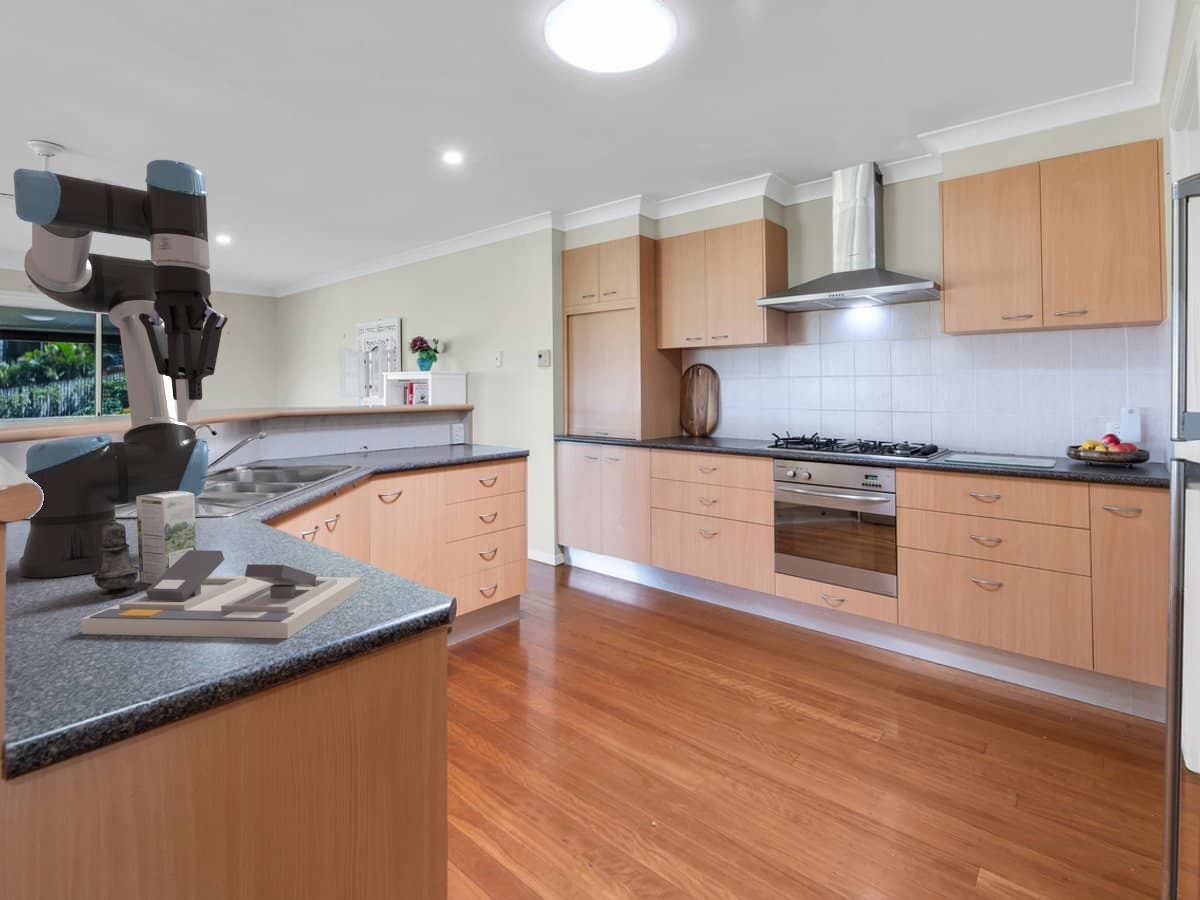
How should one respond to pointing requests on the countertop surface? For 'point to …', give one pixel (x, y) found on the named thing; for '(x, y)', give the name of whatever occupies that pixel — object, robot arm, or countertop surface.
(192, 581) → the switch
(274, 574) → the switch
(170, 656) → the countertop surface
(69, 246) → the robot arm
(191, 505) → the syrup box
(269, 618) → the switch panel
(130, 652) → the countertop surface
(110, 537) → the grey tiered stone piece
